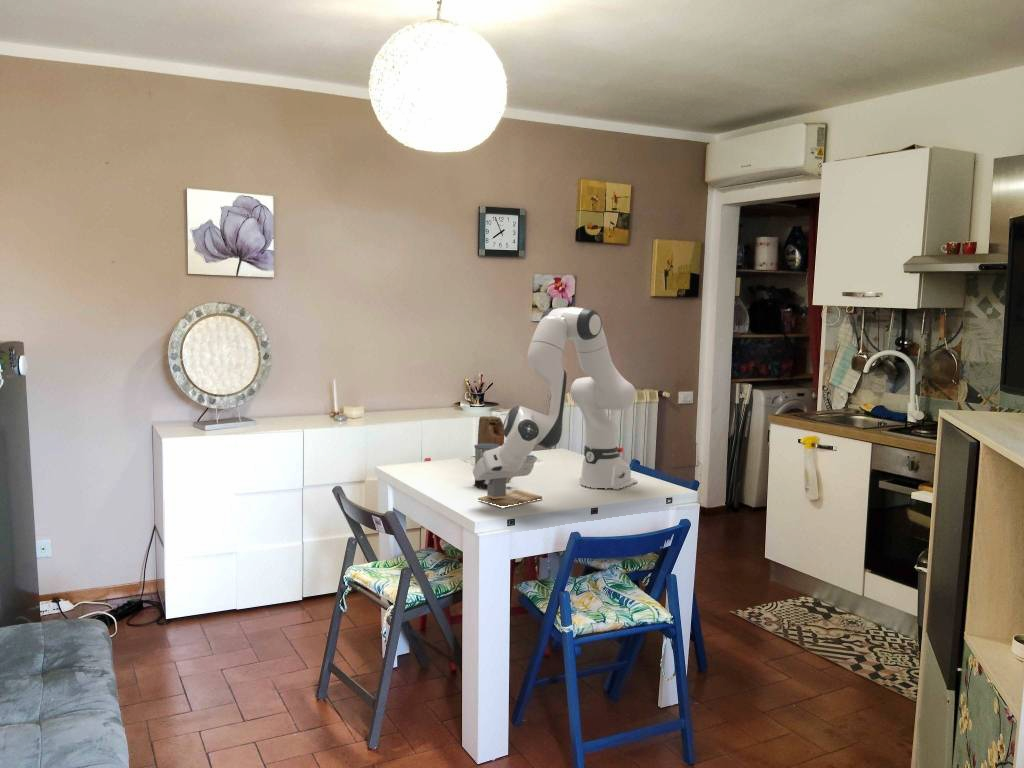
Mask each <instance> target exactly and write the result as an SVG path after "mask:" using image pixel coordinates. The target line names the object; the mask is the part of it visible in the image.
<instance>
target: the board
mask: <svg viewBox="0 0 1024 768" xmlns="http://www.w3.org/2000/svg"><path fill="white" fill-rule="evenodd" d="M541 498H542V499H543V496H542V495H539V494H534V493H531V492H528V491H523V490H521V489H514V490H509V491H506V498H498V499H493V498H491V497H489V496H487V495H486V496H480V497H477V501H478V500H481V501H485V502H488V503H492V504H496V505H499V506H508V505H514V504H519V503H524V502H528V501H533V500H537V499H541Z"/></svg>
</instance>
